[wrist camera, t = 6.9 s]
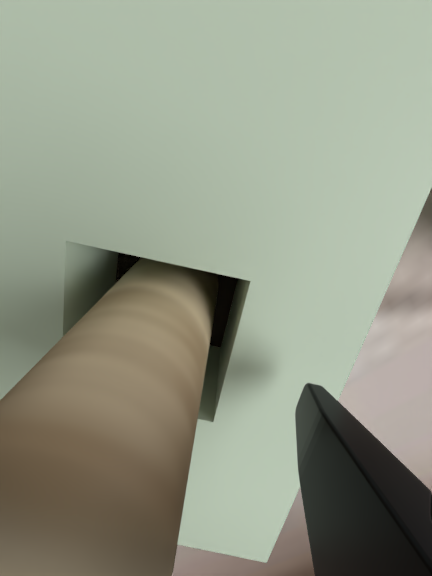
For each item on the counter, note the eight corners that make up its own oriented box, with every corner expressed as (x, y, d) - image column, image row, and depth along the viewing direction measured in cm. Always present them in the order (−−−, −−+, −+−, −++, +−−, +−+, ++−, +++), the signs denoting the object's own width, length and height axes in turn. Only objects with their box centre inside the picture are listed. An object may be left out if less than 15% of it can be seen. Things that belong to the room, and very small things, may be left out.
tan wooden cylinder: (209, 330, 14) (155, 635, 5) (129, 312, 14) (-68, 591, 5) (226, 253, 13) (196, 482, 4) (139, 233, 13) (-106, 419, 4)
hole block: (260, 464, 17) (266, 562, 13) (35, 417, 17) (-31, 501, 13) (401, 70, 10) (508, 12, 6) (32, -15, 10) (-108, -131, 6)
